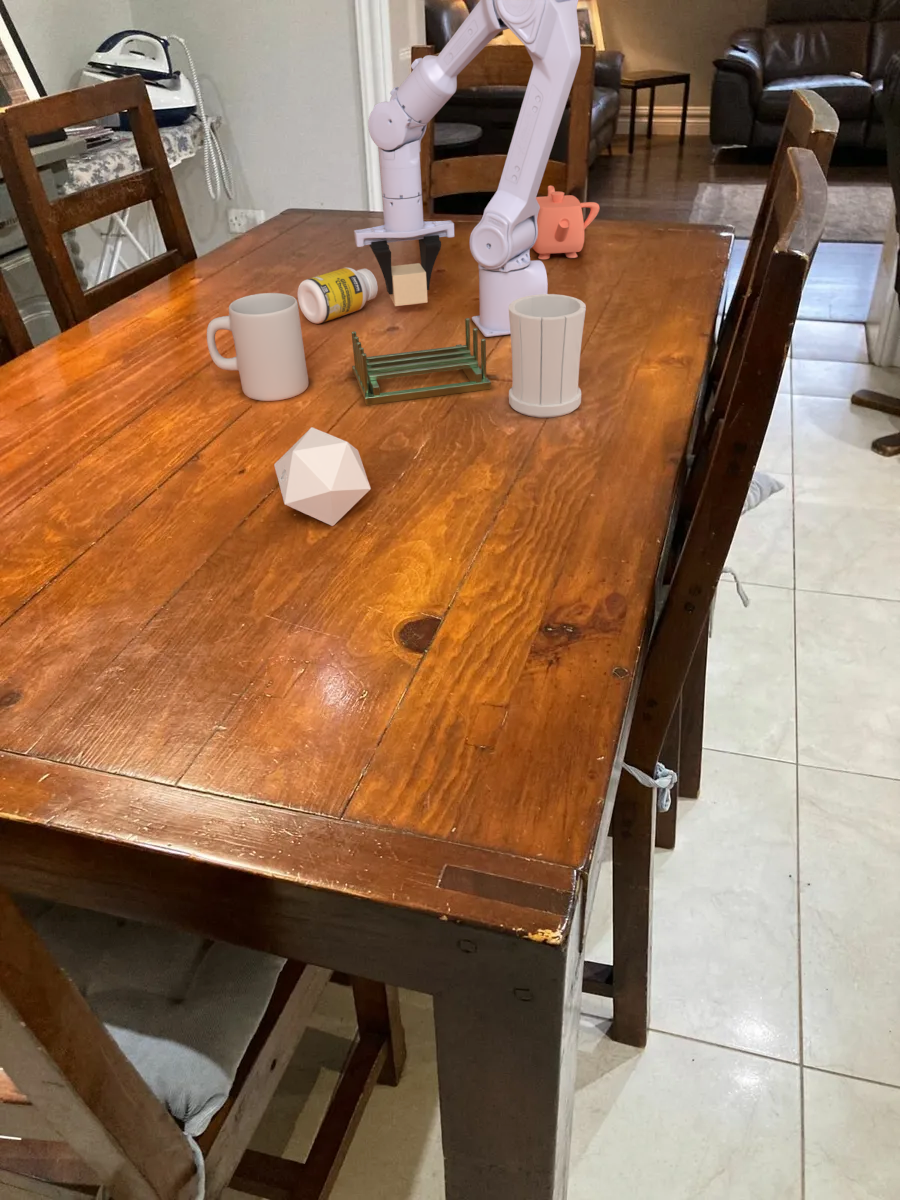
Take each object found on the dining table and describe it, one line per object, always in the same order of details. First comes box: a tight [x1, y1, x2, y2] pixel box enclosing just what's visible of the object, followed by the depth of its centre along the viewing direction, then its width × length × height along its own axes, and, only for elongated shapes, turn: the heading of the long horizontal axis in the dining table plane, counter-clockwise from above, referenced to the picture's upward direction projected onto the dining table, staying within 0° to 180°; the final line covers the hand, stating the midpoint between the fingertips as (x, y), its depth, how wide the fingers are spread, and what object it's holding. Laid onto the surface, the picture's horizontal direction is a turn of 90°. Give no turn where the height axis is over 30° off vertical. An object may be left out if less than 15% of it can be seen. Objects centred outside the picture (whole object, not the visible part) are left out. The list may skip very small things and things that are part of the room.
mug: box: [206, 292, 310, 402], centre depth 118 cm, size 12×8×11 cm
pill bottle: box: [297, 267, 379, 325], centre depth 141 cm, size 6×6×12 cm
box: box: [388, 262, 428, 307], centre depth 141 cm, size 5×5×4 cm
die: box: [273, 426, 372, 527], centre depth 92 cm, size 8×9×10 cm
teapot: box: [531, 185, 600, 260], centre depth 163 cm, size 14×12×10 cm
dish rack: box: [351, 317, 492, 406], centre depth 119 cm, size 16×11×6 cm
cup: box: [508, 293, 587, 419], centre depth 111 cm, size 10×9×12 cm
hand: (408, 290), depth 141 cm, fingers closed on box, 5 cm apart
